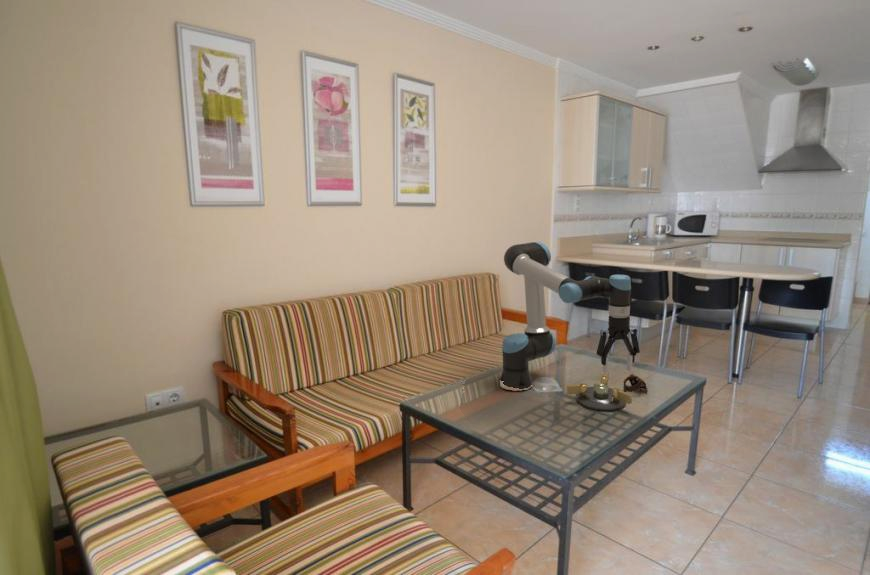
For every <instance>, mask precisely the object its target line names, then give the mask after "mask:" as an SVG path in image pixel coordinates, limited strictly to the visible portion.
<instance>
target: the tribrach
mask: <svg viewBox="0 0 870 575" xmlns="http://www.w3.org/2000/svg"><path fill="white" fill-rule="evenodd" d="M613 389H614V388H611V387H610V386H609V385H606V384H603V383H601V382H600V383H599V382H598V383H597V382H596V383H594V384H593V386H587V397H580V394H575V400H576V402H577V403H578V404H579V405H580V406H582V407H583V408H586V409H588V410H591V411H597V412H598V411H599V412H616V411H620V410H622V409H624V408H625V407H626V406H627V403H625V402H623V401H620V402H619V403H615V402H613V401H612V394H613Z"/></svg>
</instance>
